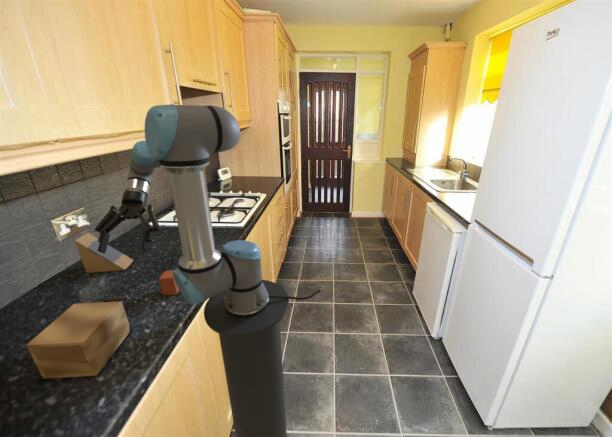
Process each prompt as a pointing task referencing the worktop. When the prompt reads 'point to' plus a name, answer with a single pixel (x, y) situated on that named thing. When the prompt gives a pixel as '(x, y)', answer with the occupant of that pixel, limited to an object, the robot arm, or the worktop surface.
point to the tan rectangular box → (80, 340)
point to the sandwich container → (100, 256)
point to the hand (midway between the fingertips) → (123, 251)
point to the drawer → (116, 299)
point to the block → (168, 284)
